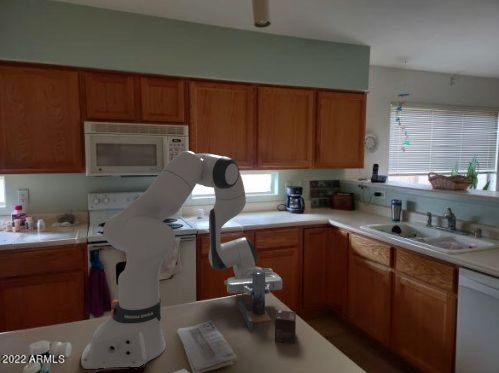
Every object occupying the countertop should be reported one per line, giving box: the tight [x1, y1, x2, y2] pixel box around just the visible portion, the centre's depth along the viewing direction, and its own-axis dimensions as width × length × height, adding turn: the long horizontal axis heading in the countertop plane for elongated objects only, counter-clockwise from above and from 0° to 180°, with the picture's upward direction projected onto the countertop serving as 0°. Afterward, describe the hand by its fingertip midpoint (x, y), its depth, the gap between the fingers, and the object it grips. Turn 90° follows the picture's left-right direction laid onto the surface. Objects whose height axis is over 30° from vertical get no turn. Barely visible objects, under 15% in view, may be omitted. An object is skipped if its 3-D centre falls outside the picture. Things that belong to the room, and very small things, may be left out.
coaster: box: [248, 309, 272, 323], centre depth 122 cm, size 7×7×1 cm
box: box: [274, 310, 297, 344], centre depth 108 cm, size 6×6×7 cm
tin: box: [251, 271, 266, 315], centre depth 121 cm, size 4×4×14 cm
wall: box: [239, 300, 254, 331], centre depth 120 cm, size 1×16×3 cm, turn 13°
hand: (259, 292), depth 120 cm, fingers closed on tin, 4 cm apart
